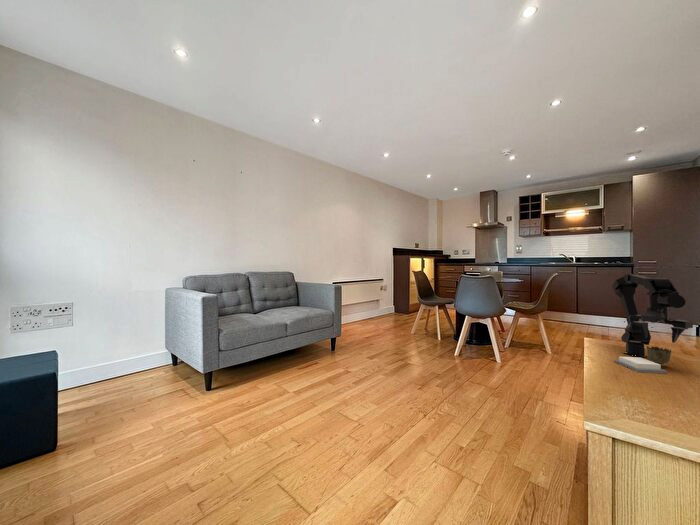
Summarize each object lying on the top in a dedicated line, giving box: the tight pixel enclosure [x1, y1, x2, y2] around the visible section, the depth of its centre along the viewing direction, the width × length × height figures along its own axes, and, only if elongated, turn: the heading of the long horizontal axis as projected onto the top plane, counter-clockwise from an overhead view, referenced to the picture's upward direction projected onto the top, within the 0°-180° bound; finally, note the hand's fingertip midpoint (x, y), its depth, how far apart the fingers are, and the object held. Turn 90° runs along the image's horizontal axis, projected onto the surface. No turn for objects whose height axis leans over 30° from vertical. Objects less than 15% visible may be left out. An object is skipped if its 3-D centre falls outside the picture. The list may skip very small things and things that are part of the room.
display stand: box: [613, 356, 668, 374], centre depth 121 cm, size 12×11×3 cm
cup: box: [646, 345, 672, 368], centre depth 123 cm, size 8×7×8 cm
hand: (659, 340), depth 123 cm, fingers open, 9 cm apart
